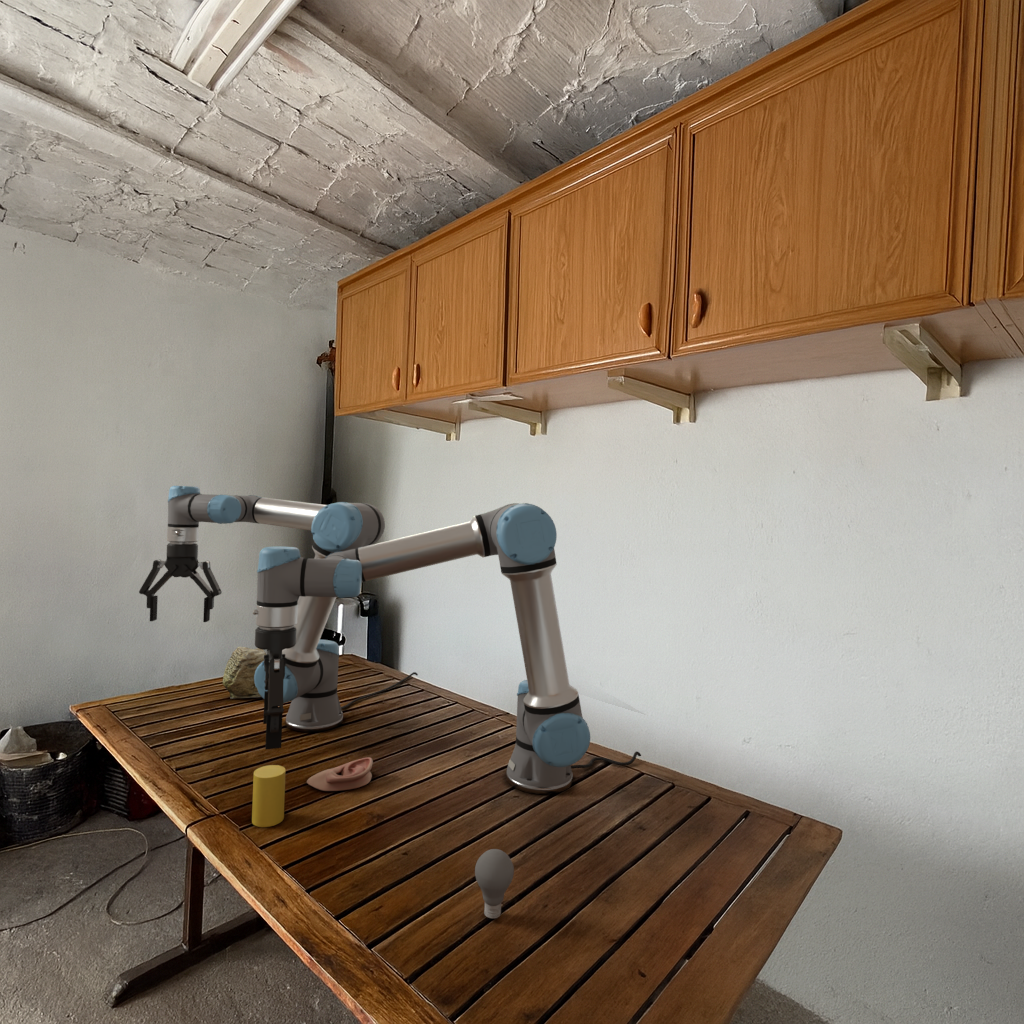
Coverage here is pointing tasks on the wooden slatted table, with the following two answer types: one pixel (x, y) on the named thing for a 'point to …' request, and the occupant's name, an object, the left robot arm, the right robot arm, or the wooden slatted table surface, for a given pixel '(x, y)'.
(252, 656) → the fossil
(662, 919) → the wooden slatted table surface
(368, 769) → the anatomical model
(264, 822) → the cylinder
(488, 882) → the light bulb
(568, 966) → the wooden slatted table surface
